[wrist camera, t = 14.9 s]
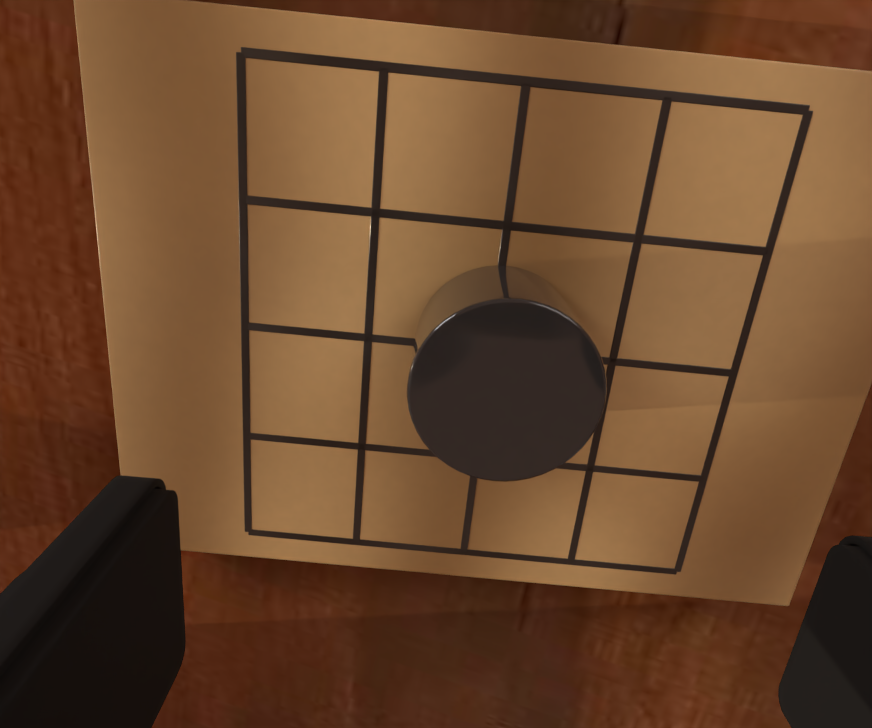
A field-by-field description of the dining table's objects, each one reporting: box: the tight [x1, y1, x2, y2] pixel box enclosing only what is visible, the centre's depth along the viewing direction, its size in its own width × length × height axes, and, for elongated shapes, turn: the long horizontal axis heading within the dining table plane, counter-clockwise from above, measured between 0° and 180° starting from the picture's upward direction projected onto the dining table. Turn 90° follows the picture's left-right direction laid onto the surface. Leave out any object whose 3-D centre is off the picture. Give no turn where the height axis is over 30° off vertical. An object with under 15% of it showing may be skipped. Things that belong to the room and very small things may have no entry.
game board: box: [74, 0, 872, 606], centre depth 19 cm, size 22×16×2 cm
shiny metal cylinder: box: [407, 265, 607, 482], centre depth 16 cm, size 5×5×4 cm
